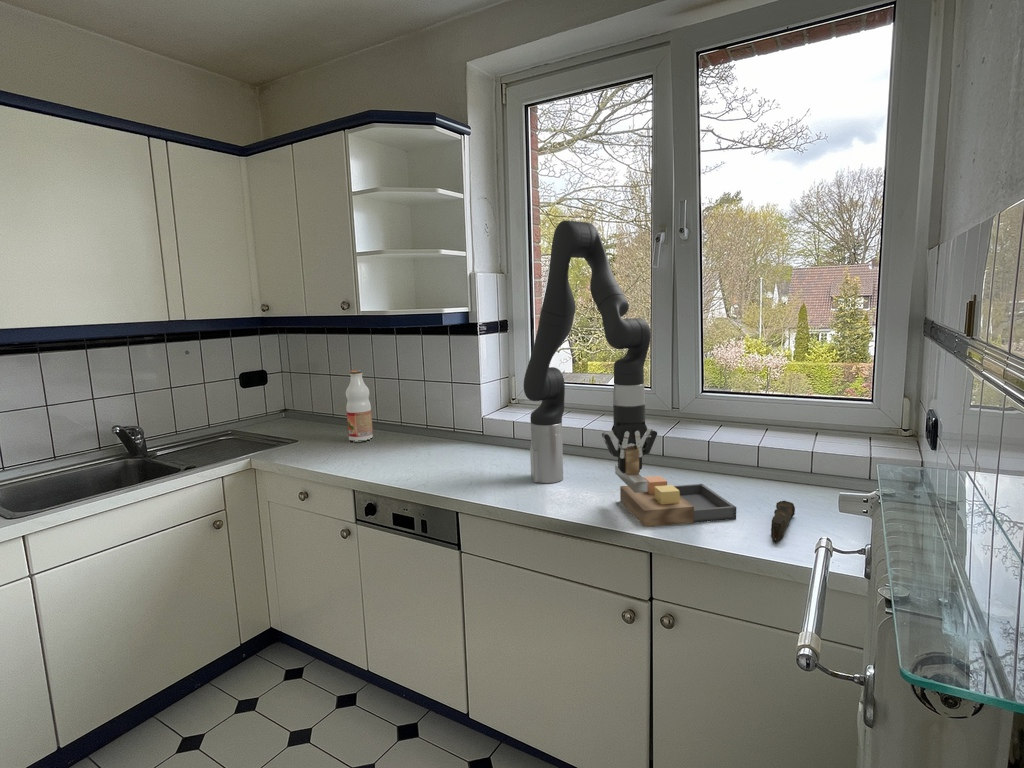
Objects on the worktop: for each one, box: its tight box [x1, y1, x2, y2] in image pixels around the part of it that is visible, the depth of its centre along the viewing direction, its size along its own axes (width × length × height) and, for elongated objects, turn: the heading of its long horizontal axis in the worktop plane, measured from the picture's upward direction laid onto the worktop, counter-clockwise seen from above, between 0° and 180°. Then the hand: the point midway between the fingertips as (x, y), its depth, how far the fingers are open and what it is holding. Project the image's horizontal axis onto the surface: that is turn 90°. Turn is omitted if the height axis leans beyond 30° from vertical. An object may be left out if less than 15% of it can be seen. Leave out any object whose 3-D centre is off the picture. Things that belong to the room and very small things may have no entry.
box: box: [673, 483, 737, 524], centre depth 145 cm, size 10×18×3 cm, turn 7°
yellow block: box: [654, 484, 680, 504], centre depth 139 cm, size 4×4×3 cm
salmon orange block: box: [643, 475, 668, 494], centre depth 147 cm, size 4×4×3 cm
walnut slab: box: [619, 485, 695, 528], centre depth 144 cm, size 12×18×4 cm, turn 7°
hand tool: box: [770, 500, 796, 545], centre depth 130 cm, size 19×4×5 cm, turn 146°
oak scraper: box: [614, 445, 647, 493], centre depth 141 cm, size 3×15×8 cm, turn 7°
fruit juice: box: [345, 369, 374, 441], centre depth 229 cm, size 9×9×28 cm
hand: (629, 471), depth 141 cm, fingers closed on oak scraper, 3 cm apart
